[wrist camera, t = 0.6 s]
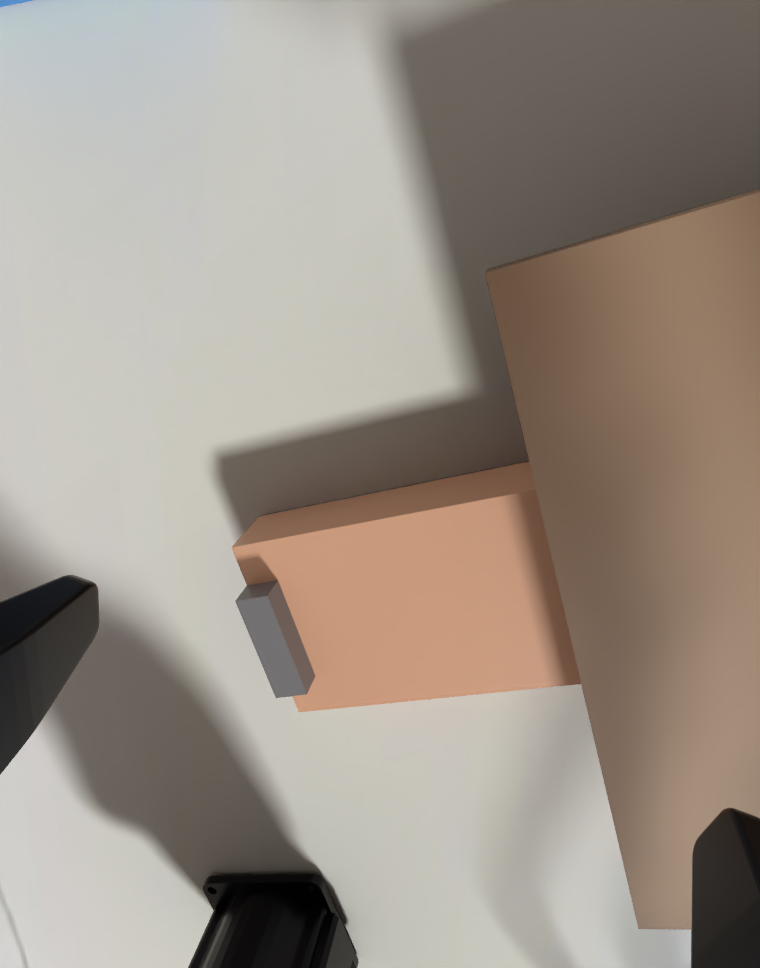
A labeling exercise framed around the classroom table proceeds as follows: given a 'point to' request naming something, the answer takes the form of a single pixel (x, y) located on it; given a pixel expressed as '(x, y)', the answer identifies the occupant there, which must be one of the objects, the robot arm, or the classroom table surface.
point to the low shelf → (652, 513)
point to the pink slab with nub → (407, 594)
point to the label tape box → (11, 2)
